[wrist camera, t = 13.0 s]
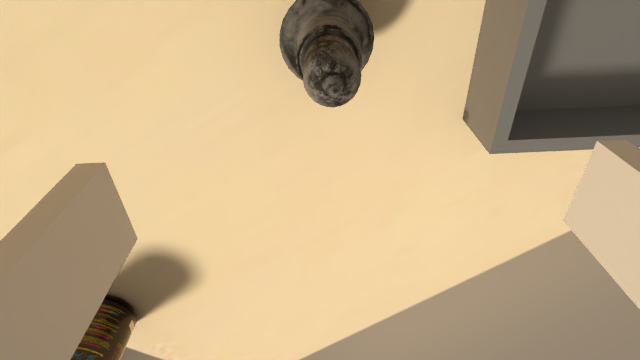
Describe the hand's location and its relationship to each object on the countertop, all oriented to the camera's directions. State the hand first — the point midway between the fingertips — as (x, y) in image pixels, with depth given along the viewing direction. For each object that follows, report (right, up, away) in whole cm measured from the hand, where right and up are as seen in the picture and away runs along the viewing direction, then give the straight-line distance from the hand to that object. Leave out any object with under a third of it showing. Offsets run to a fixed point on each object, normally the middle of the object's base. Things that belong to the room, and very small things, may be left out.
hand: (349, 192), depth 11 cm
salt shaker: (-1, +11, +16) cm, 19 cm away
